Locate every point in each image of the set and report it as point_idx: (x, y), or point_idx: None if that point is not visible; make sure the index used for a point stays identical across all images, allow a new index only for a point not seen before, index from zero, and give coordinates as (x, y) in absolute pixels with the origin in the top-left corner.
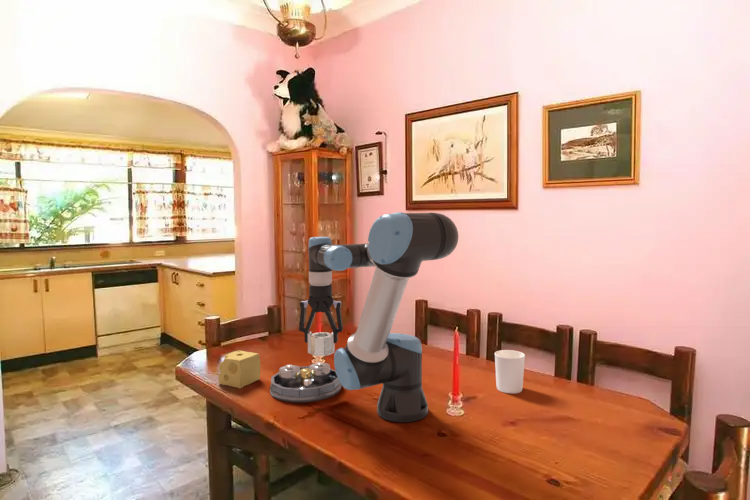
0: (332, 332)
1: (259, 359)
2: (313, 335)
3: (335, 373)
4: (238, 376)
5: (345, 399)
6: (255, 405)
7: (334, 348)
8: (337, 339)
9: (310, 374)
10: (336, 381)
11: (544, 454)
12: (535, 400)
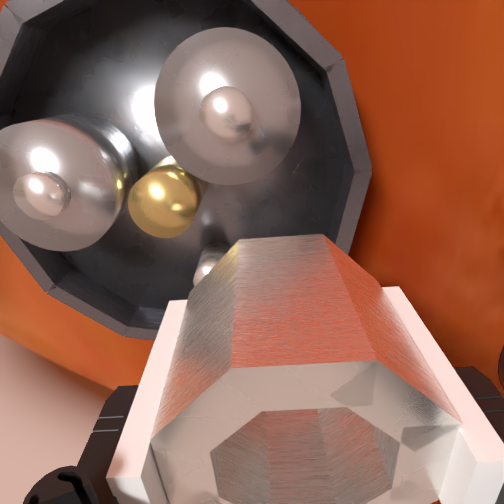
0: (480, 475)
1: None
2: (205, 491)
3: (331, 91)
4: None
5: (385, 273)
6: (70, 347)
7: (408, 307)
8: (496, 403)
9: (198, 205)
10: (354, 232)
11: None
12: None
